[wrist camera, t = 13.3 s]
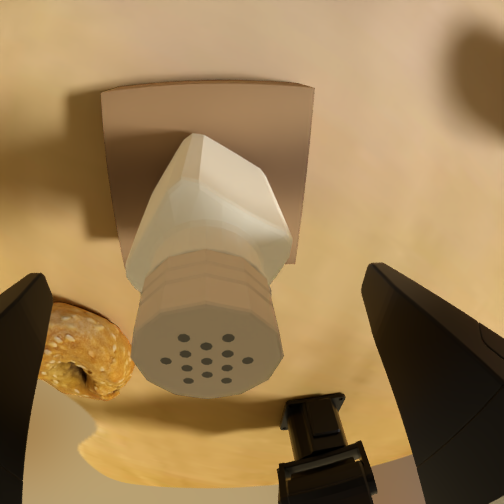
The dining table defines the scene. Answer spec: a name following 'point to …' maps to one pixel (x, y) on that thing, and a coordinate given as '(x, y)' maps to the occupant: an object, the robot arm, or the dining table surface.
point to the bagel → (85, 354)
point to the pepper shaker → (208, 274)
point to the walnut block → (213, 126)
